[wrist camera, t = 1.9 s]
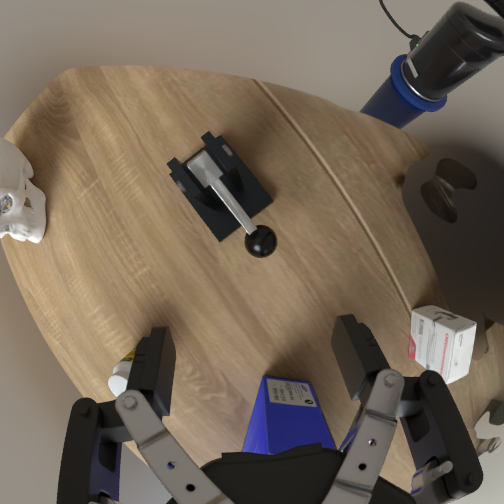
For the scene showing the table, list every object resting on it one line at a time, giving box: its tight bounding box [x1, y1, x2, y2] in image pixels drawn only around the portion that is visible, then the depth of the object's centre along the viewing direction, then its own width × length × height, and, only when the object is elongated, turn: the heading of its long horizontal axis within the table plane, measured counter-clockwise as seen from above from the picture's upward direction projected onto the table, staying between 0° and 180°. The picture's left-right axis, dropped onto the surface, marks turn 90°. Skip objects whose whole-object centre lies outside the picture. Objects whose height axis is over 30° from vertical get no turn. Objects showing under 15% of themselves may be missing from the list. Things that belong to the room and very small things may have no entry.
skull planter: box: [0, 138, 46, 243], centre depth 33 cm, size 14×20×19 cm
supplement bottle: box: [108, 348, 136, 397], centre depth 35 cm, size 5×5×10 cm
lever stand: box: [167, 131, 273, 242], centre depth 31 cm, size 12×9×14 cm
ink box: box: [409, 305, 477, 385], centre depth 32 cm, size 9×5×12 cm, turn 6°
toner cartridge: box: [242, 376, 337, 455], centre depth 31 cm, size 39×8×18 cm, turn 169°
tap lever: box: [187, 150, 277, 258], centre depth 28 cm, size 13×4×4 cm, turn 38°
